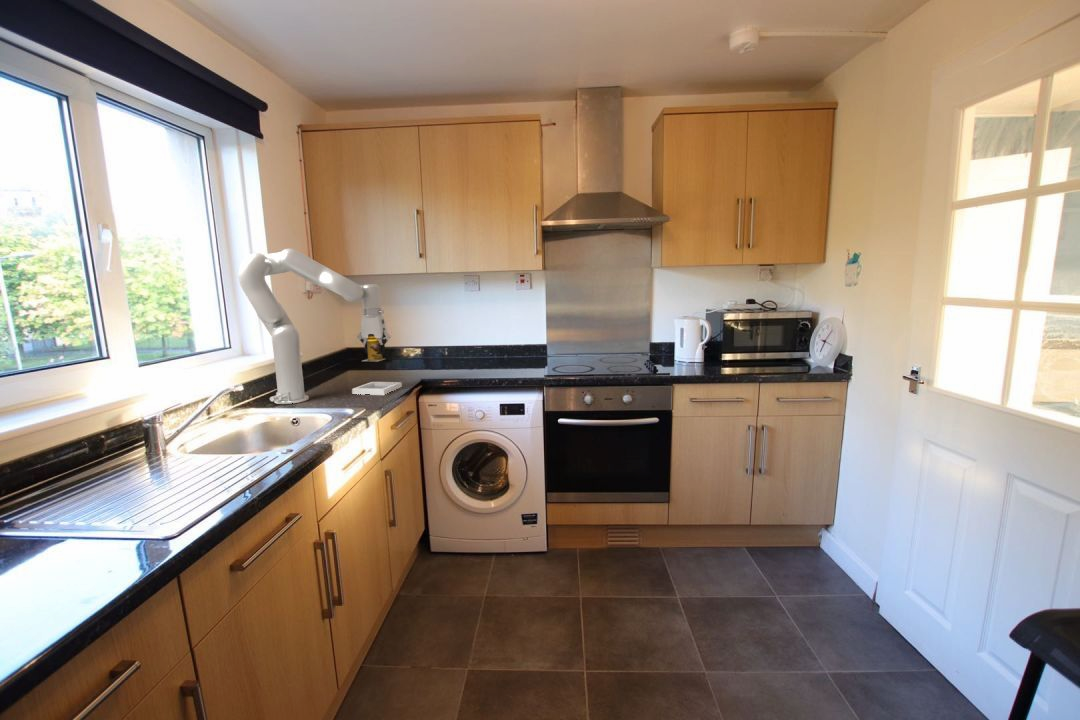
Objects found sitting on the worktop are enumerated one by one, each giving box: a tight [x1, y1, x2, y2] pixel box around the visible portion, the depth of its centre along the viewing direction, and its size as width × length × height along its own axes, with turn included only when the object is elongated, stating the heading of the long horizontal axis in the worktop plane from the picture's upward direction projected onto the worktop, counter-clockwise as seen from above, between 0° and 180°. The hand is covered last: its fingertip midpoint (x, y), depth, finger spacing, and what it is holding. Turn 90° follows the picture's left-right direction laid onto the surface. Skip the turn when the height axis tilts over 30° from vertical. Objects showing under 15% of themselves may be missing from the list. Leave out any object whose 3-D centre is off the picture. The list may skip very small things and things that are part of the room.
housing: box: [351, 381, 403, 396], centre depth 206 cm, size 16×15×2 cm
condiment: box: [362, 334, 385, 362], centre depth 204 cm, size 7×8×12 cm
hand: (375, 353), depth 204 cm, fingers closed on condiment, 6 cm apart
